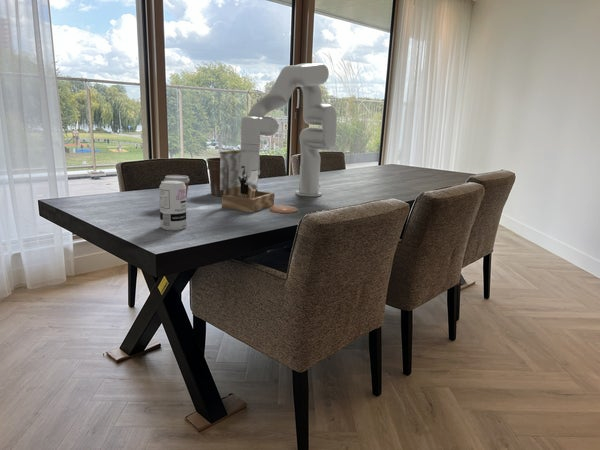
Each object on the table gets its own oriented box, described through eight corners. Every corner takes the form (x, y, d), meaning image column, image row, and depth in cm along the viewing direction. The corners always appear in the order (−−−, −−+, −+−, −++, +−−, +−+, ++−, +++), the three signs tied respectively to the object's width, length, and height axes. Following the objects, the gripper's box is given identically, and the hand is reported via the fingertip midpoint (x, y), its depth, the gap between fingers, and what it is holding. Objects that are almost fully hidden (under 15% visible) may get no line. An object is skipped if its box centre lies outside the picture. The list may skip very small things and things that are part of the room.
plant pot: (199, 195, 201) (199, 159, 197) (216, 190, 216) (216, 156, 212) (232, 199, 196) (233, 162, 192) (247, 193, 211) (248, 159, 207)
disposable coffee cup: (194, 206, 178) (194, 176, 175) (178, 210, 169) (178, 179, 166) (175, 203, 182) (175, 173, 179) (159, 207, 173) (158, 176, 170)
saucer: (277, 206, 187) (277, 204, 187) (301, 209, 183) (301, 207, 183) (264, 210, 177) (264, 208, 177) (289, 214, 173) (290, 212, 173)
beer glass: (254, 208, 180) (255, 171, 176) (237, 207, 181) (238, 170, 178) (259, 205, 187) (260, 169, 183) (243, 203, 188) (244, 167, 184)
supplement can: (163, 224, 149) (162, 179, 146) (188, 224, 150) (188, 180, 146) (157, 230, 142) (156, 183, 138) (184, 231, 142) (183, 184, 139)
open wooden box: (243, 200, 195) (244, 149, 190) (274, 204, 189) (276, 152, 184) (219, 207, 179) (219, 151, 174) (252, 212, 173) (253, 155, 168)
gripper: (253, 146, 187) (251, 188, 192) (230, 148, 172) (229, 194, 176) (268, 148, 185) (267, 191, 189) (247, 150, 169) (245, 197, 174)
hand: (249, 192), depth 183 cm, fingers closed on beer glass, 6 cm apart
